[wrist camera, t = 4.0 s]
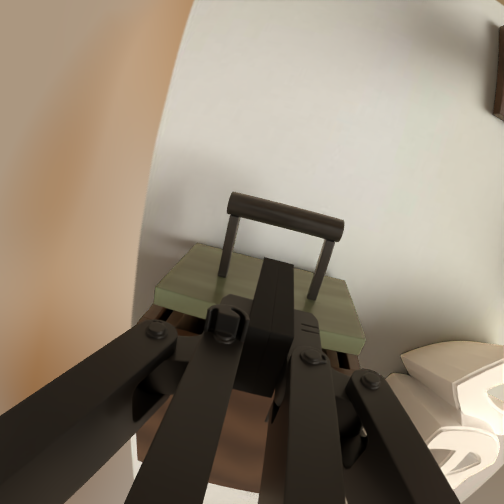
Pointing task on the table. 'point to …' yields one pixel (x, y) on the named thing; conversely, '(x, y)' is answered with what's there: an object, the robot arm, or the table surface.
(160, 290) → the drawer
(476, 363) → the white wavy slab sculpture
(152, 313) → the cabinet
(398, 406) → the robot arm
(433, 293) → the table surface
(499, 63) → the stand
